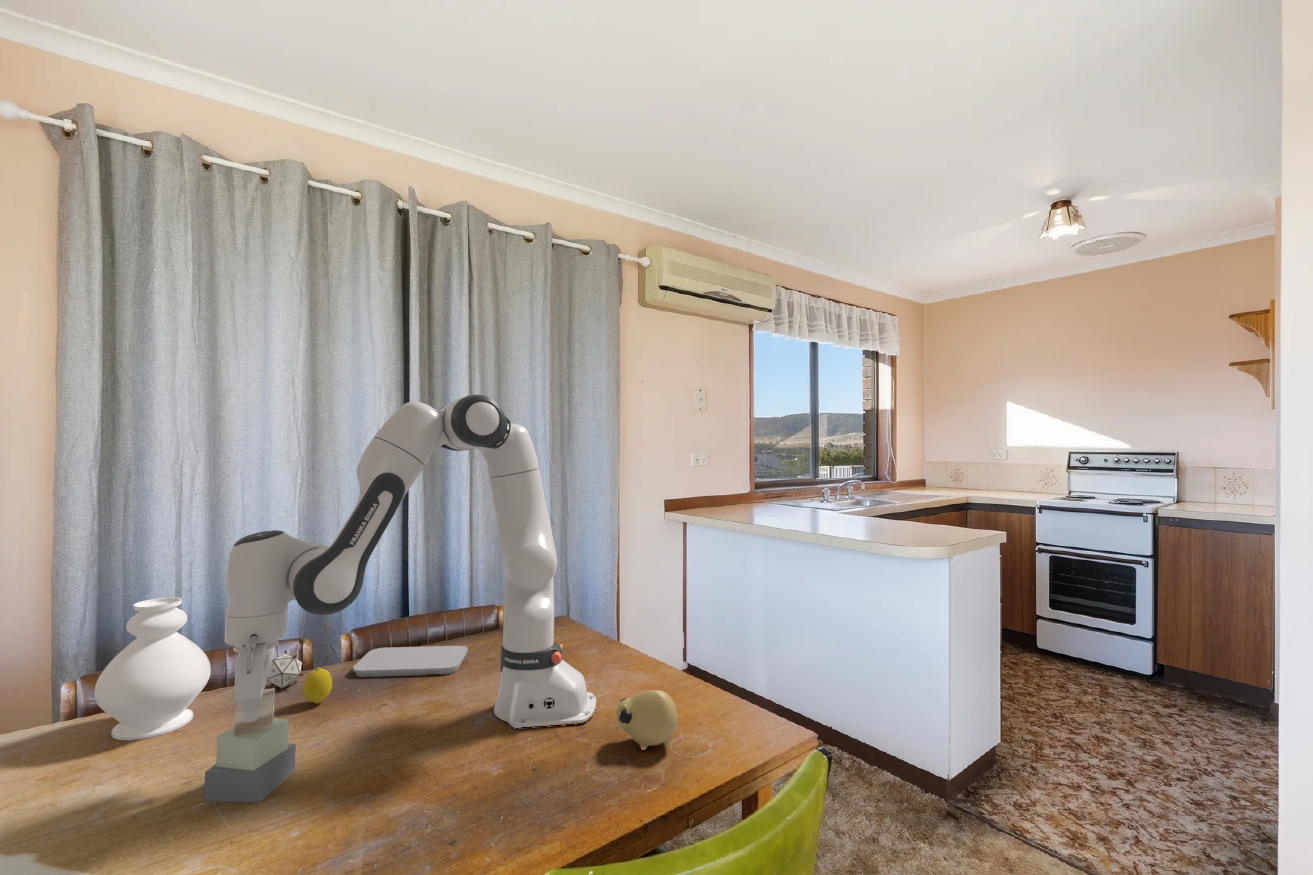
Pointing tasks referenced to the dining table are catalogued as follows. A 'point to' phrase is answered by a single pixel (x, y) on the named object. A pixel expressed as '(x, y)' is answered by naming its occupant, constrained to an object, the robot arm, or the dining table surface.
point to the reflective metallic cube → (263, 717)
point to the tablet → (410, 661)
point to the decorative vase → (153, 674)
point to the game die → (284, 670)
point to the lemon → (317, 685)
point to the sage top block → (251, 746)
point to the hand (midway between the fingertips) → (254, 708)
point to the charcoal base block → (249, 779)
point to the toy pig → (648, 717)
